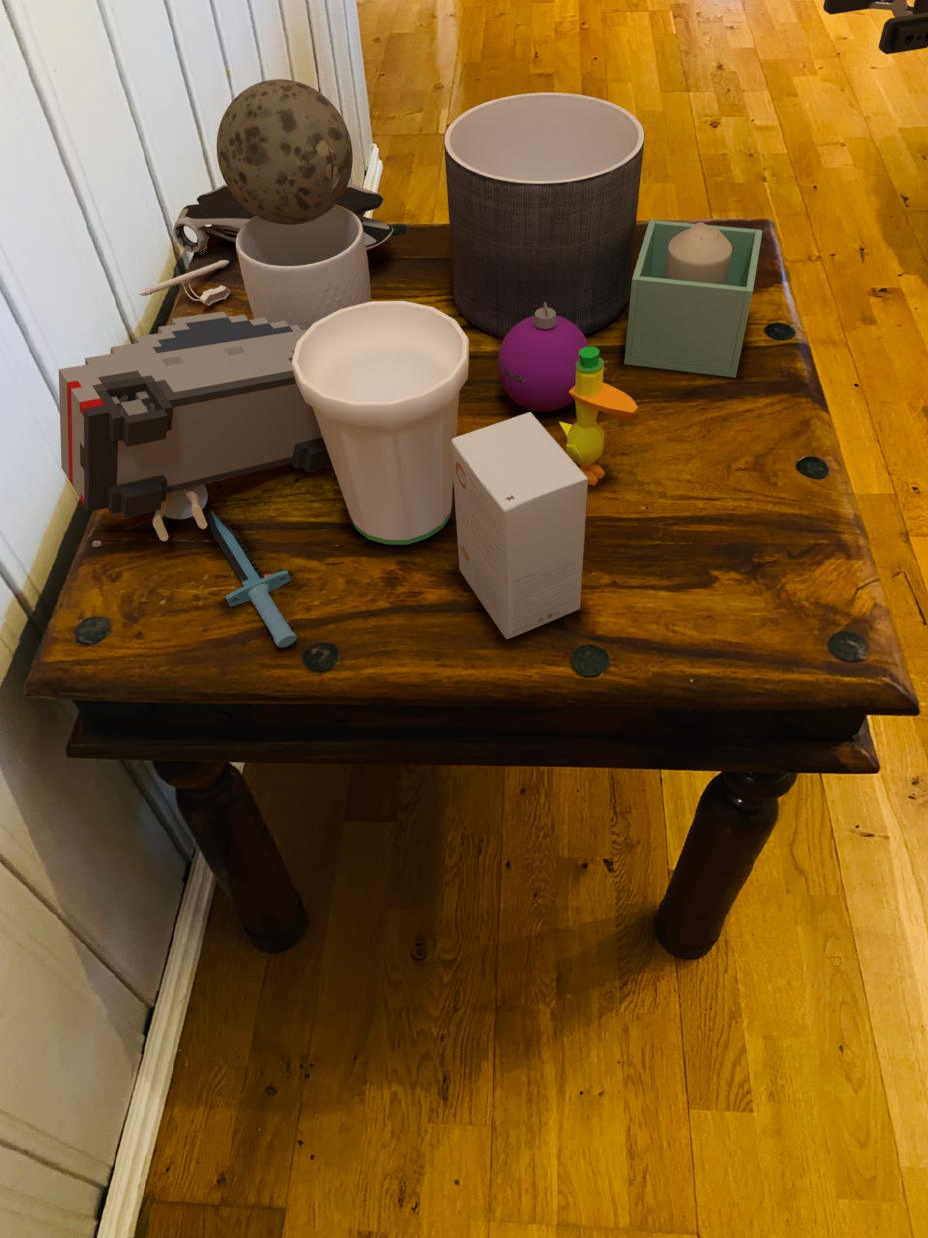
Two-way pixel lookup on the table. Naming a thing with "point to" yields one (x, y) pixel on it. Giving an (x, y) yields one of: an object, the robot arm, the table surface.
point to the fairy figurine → (182, 508)
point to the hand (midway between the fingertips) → (854, 16)
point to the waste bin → (690, 307)
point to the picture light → (206, 298)
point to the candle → (699, 256)
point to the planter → (543, 209)
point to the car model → (233, 215)
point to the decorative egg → (284, 152)
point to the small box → (519, 522)
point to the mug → (304, 267)
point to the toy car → (185, 412)
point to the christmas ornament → (541, 360)
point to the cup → (387, 411)
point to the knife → (252, 582)
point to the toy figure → (592, 412)
